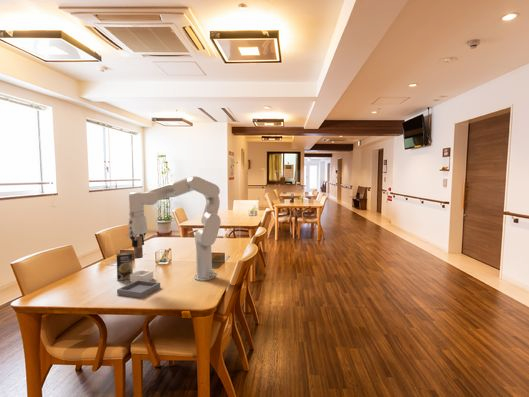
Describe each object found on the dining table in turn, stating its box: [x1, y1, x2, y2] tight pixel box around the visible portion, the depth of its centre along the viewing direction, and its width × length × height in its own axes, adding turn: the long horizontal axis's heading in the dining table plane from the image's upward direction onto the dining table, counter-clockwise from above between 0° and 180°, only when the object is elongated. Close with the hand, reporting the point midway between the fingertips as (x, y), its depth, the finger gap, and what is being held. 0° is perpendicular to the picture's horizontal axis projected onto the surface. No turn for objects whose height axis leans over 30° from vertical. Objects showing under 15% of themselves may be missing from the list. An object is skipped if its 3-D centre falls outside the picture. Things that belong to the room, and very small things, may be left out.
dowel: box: [133, 235, 144, 259], centre depth 173 cm, size 4×4×12 cm
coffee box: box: [115, 252, 134, 282], centre depth 192 cm, size 9×6×16 cm
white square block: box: [129, 269, 154, 283], centre depth 189 cm, size 10×10×5 cm
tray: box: [116, 280, 161, 299], centre depth 171 cm, size 16×16×3 cm
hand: (138, 245), depth 173 cm, fingers closed on dowel, 4 cm apart
